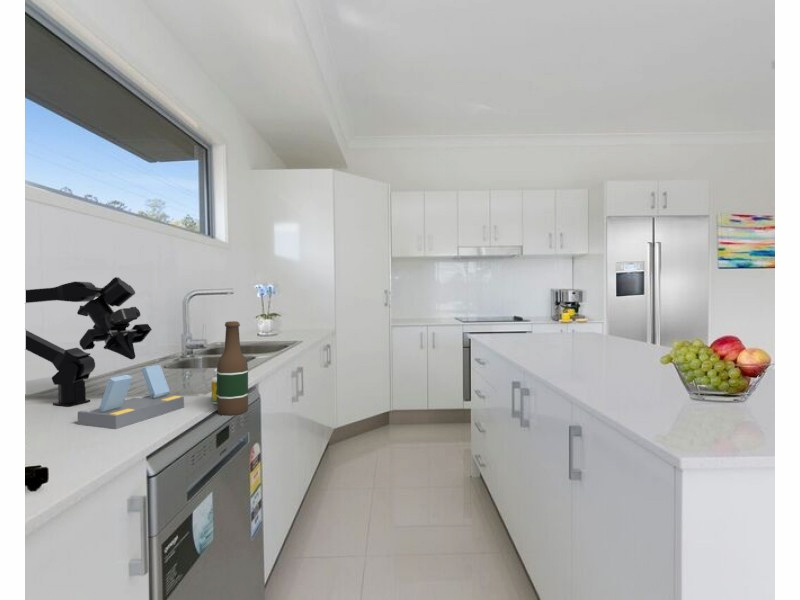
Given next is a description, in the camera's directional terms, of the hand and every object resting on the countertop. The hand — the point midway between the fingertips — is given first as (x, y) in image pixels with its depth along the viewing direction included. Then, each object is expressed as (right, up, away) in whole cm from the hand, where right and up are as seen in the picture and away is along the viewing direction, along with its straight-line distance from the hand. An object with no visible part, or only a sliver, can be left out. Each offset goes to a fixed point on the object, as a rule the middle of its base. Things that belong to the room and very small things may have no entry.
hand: (133, 358), depth 129 cm
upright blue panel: (+4, -10, -17) cm, 20 cm away
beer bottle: (+30, -14, -7) cm, 34 cm away
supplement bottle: (+23, -14, +4) cm, 27 cm away
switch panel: (+6, -13, -10) cm, 18 cm away
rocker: (+9, -9, -3) cm, 13 cm away
